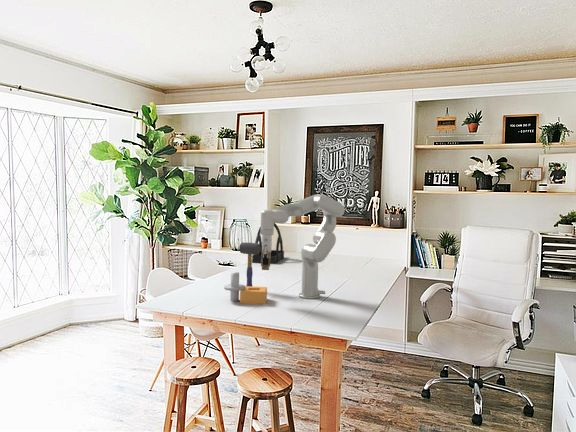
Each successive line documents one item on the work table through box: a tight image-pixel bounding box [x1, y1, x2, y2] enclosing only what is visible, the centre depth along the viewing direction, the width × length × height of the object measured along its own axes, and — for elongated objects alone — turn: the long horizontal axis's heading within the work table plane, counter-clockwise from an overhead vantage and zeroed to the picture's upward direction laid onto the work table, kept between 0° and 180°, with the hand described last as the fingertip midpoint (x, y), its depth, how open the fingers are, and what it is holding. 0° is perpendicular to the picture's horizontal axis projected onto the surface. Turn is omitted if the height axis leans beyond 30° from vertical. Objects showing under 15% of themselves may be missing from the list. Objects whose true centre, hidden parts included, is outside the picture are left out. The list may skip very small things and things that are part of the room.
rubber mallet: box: [238, 242, 261, 287], centre depth 291 cm, size 12×8×30 cm, turn 68°
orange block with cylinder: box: [223, 271, 268, 305], centre depth 265 cm, size 24×12×16 cm, turn 88°
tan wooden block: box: [260, 251, 271, 271], centre depth 263 cm, size 5×4×12 cm
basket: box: [252, 223, 285, 265], centre depth 401 cm, size 35×21×35 cm, turn 168°
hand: (265, 263), depth 263 cm, fingers closed on tan wooden block, 4 cm apart
